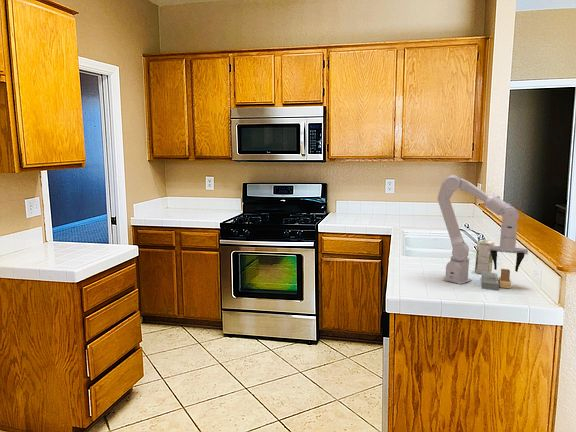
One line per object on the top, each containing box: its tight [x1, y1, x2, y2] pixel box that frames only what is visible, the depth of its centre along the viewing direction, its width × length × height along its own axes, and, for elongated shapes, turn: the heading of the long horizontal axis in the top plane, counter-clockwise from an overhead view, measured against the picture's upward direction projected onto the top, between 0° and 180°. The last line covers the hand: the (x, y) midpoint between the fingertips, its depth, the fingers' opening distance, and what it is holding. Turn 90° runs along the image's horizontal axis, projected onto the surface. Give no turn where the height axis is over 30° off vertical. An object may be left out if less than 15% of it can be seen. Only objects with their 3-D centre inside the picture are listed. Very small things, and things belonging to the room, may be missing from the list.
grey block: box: [481, 272, 500, 291], centre depth 192 cm, size 6×18×3 cm, turn 158°
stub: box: [498, 268, 512, 289], centre depth 189 cm, size 4×10×6 cm, turn 158°
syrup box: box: [474, 239, 495, 275], centre depth 209 cm, size 6×6×14 cm
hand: (505, 270), depth 189 cm, fingers open, 7 cm apart
